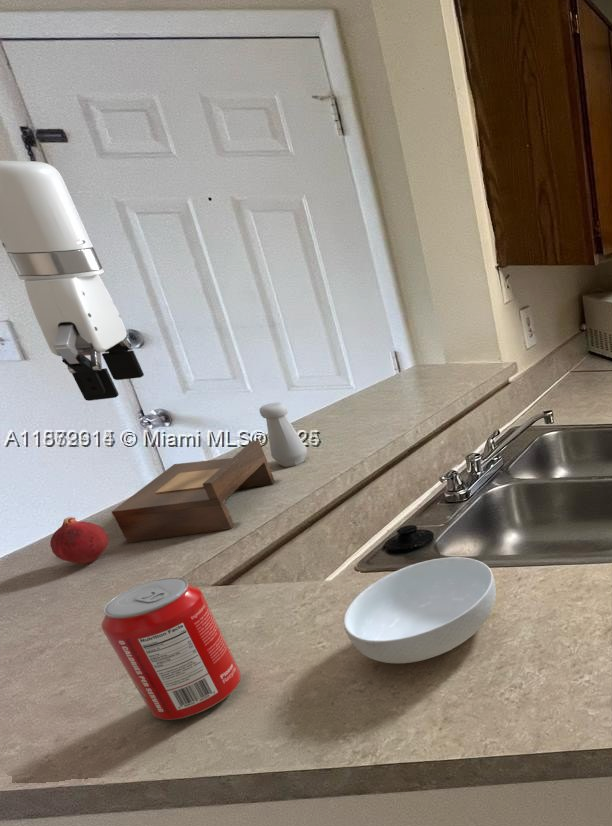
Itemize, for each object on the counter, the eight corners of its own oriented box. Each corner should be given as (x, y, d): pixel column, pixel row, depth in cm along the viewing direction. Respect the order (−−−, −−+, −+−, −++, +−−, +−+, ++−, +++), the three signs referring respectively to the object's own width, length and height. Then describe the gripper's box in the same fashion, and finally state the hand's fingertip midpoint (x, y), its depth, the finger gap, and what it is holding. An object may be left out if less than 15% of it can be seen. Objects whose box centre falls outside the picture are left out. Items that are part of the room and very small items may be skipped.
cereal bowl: (450, 583, 92) (439, 544, 89) (530, 616, 85) (520, 575, 82) (329, 657, 78) (312, 613, 75) (413, 704, 71) (397, 658, 68)
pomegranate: (111, 565, 95) (87, 521, 92) (58, 578, 92) (31, 533, 89) (122, 547, 99) (99, 505, 96) (71, 559, 96) (45, 515, 93)
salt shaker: (290, 455, 131) (269, 399, 125) (317, 456, 131) (297, 399, 125) (268, 468, 125) (245, 409, 120) (295, 468, 125) (273, 410, 120)
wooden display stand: (127, 543, 101) (102, 495, 97) (186, 492, 116) (167, 449, 112) (231, 528, 105) (211, 482, 101) (275, 481, 120) (259, 440, 117)
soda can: (192, 730, 68) (133, 624, 62) (135, 719, 69) (71, 614, 63) (261, 677, 75) (214, 577, 69) (207, 668, 76) (157, 569, 70)
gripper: (48, 257, 85) (104, 375, 92) (-22, 276, 71) (50, 412, 78) (122, 254, 88) (171, 368, 95) (69, 271, 75) (130, 402, 82)
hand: (116, 387), depth 87 cm, fingers open, 9 cm apart
